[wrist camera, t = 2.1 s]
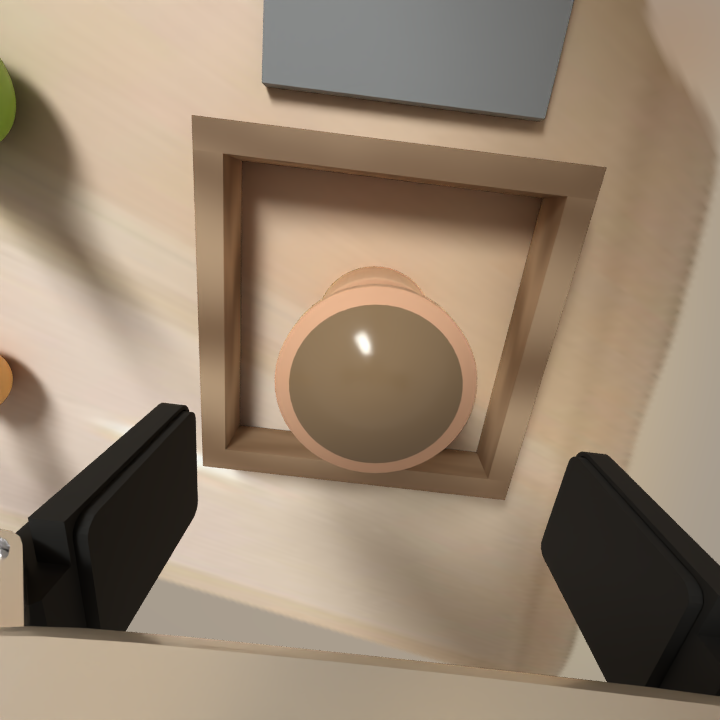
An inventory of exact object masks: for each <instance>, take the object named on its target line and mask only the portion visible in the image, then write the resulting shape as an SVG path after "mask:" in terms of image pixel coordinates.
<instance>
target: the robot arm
mask: <svg viewBox="0 0 720 720" xmlns="http://www.w3.org/2000/svg"><path fill="white" fill-rule="evenodd" d="M197 505H198V491H197V453H196V418H195V414H194V413H193V412H189V409H188V407H187V406H186V405H177V404H169V403H161V404H159V405H158V406H157V407H155V408H154V409H153V410H152V411H151V412H150V413H149V414H147V415H146V416H145V417H144V418H143V419H142V420H140V421H139V422H138V423H137V424H136V425H135V426H134V427H132V428H131V429H130V430H129V431H128V432H127V433H125V434H124V435H123V436H122V437H121V438H120V439H119V440H117V441H116V442H115V443H114V444H113V445H112V446H110V447H109V448H108V449H107V450H106V451H105V452H103V453H102V454H101V455H100V456H99V457H98V458H97V459H95V460H94V461H93V462H92V463H91V464H90V465H88V466H87V467H86V468H85V469H84V470H83V471H82V472H80V473H79V474H78V475H77V476H76V477H75V478H73V479H72V480H71V481H70V482H69V483H68V484H67V485H65V486H64V487H63V488H62V489H61V490H60V491H58V492H57V493H56V494H55V495H54V496H53V497H52V498H50V499H49V500H48V501H47V502H46V503H45V504H43V505H42V506H41V507H40V508H39V509H38V510H36V511H35V512H34V513H33V514H32V515H31V516H30V517H28V521H29V522H28V523H26V524H25V525H24V526H23V527H22V528H21V529H20V530H18V531H17V532H16V533H14V532H12V531H9V530H4V529H0V720H720V566H719V565H718V564H717V563H716V562H715V561H714V560H713V559H712V558H711V557H710V556H709V555H708V554H707V553H706V552H705V551H704V550H703V549H702V548H701V547H700V546H699V545H698V544H697V543H696V542H695V541H694V540H693V539H692V538H691V537H690V536H689V535H688V534H687V533H686V532H685V531H684V530H683V529H682V528H681V527H680V526H679V525H678V524H677V523H676V522H675V521H674V520H673V519H672V518H671V517H670V516H669V515H668V514H667V513H666V512H665V511H664V510H663V509H662V508H661V507H660V506H659V505H658V504H657V503H656V502H655V501H654V500H653V499H652V498H651V497H650V496H649V495H648V494H647V493H646V492H645V491H644V490H643V489H642V488H641V487H640V486H639V485H637V483H636V482H634V480H633V479H632V478H631V477H630V476H629V475H628V474H627V473H626V472H625V471H624V470H623V469H622V468H621V467H620V466H619V465H618V464H617V463H616V462H615V461H614V460H613V459H611V458H610V457H609V456H608V455H606V454H598V453H590V452H580V453H578V454H577V456H576V457H572V458H571V459H570V460H569V463H568V465H567V468H566V471H565V474H564V477H563V480H562V483H561V486H560V489H559V492H558V495H557V498H556V501H555V503H554V506H553V509H552V512H551V515H550V518H549V521H548V524H547V527H546V530H545V533H544V536H543V539H542V542H541V551H542V555H543V558H544V560H545V562H546V564H547V566H548V567H549V569H550V571H551V573H552V575H553V577H554V579H555V581H556V583H557V585H558V587H559V589H560V591H561V593H562V595H563V597H564V599H565V601H566V603H567V605H568V607H569V609H570V611H571V613H572V615H573V616H574V618H575V620H576V622H577V624H578V626H579V628H580V630H581V632H582V634H583V636H584V638H585V640H586V642H587V644H588V645H589V648H590V650H591V652H592V654H593V656H594V658H595V660H596V662H597V663H598V665H599V667H600V669H601V671H602V673H603V675H604V677H605V679H606V681H607V682H600V681H592V680H583V679H574V678H566V677H557V676H548V675H540V674H531V673H522V672H514V671H505V670H496V669H487V668H478V667H469V666H459V665H450V664H441V663H432V662H423V661H414V660H405V659H395V658H386V657H377V656H368V655H358V654H348V653H340V652H330V651H321V650H311V649H301V648H291V647H282V646H272V645H262V644H253V643H243V642H232V641H224V640H213V639H204V638H194V637H185V636H172V635H161V634H148V633H137V632H126V630H127V628H128V626H129V625H130V623H131V621H132V620H133V618H134V616H135V614H136V613H137V611H138V610H139V608H140V606H141V605H142V603H143V601H144V599H145V598H146V596H147V595H148V593H149V591H150V590H151V588H152V586H153V585H154V583H155V581H156V580H157V578H158V576H159V575H160V573H161V571H162V570H163V568H164V566H165V565H166V563H167V561H168V560H169V558H170V556H171V555H172V553H173V551H174V550H175V548H176V546H177V544H178V543H179V541H180V539H181V538H182V536H183V534H184V533H185V531H186V529H187V528H188V526H189V524H190V523H191V521H192V519H193V518H194V516H195V513H196V510H197Z"/></svg>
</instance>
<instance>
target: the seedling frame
mask: <svg viewBox="0 0 720 720" xmlns="http://www.w3.org/2000/svg"><path fill="white" fill-rule="evenodd" d="M192 140H193V171H194V202H195V232H196V263H197V294H198V325H199V355H200V386H201V417H202V448H203V466H208V467H217V468H226V469H234V470H243V471H252V472H261V473H270V474H279V475H288V476H297V477H306V478H314V479H323V480H332V481H341V482H350V483H359V484H368V485H377V486H386V487H394V488H403V489H412V490H421V491H430V492H439V493H448V494H457V495H466V496H474V497H483V498H492V499H501V500H505V498H506V495H507V491H508V488H509V485H510V481H511V478H512V475H513V472H514V468H515V465H516V462H517V459H518V455H519V452H520V449H521V446H522V442H523V439H524V436H525V433H526V429H527V426H528V423H529V419H530V416H531V413H532V410H533V406H534V403H535V400H536V397H537V393H538V390H539V387H540V384H541V380H542V377H543V374H544V370H545V367H546V364H547V361H548V357H549V354H550V351H551V348H552V344H553V341H554V338H555V335H556V331H557V328H558V325H559V322H560V318H561V315H562V312H563V308H564V305H565V302H566V299H567V295H568V292H569V289H570V286H571V282H572V279H573V276H574V273H575V269H576V266H577V263H578V259H579V256H580V253H581V250H582V246H583V243H584V240H585V237H586V233H587V230H588V227H589V224H590V220H591V217H592V214H593V210H594V207H595V204H596V201H597V197H598V194H599V191H600V188H601V184H602V181H603V178H604V175H605V171H606V167H598V166H590V165H582V164H575V163H567V162H559V161H551V160H543V159H535V158H527V157H519V156H511V155H503V154H495V153H488V152H480V151H472V150H464V149H456V148H448V147H440V146H432V145H424V144H416V143H408V142H401V141H393V140H385V139H377V138H369V137H361V136H353V135H345V134H337V133H329V132H321V131H314V130H306V129H298V128H290V127H282V126H274V125H266V124H258V123H250V122H242V121H234V120H227V119H219V118H211V117H203V116H195V115H192ZM242 161H250V162H258V163H266V164H274V165H282V166H290V167H298V168H306V169H314V170H322V171H330V172H338V173H346V174H354V175H362V176H370V177H378V178H386V179H394V180H402V181H410V182H418V183H426V184H434V185H442V186H450V187H458V188H466V189H474V190H482V191H490V192H498V193H506V194H514V195H522V196H530V197H538V198H543V199H542V203H541V206H540V210H539V214H538V218H537V222H536V226H535V229H534V233H533V237H532V241H531V245H530V249H529V252H528V256H527V260H526V264H525V268H524V272H523V276H522V279H521V283H520V287H519V291H518V295H517V299H516V302H515V306H514V310H513V314H512V318H511V322H510V325H509V329H508V333H507V337H506V341H505V345H504V348H503V352H502V356H501V360H500V364H499V368H498V372H497V375H496V379H495V383H494V387H493V391H492V395H491V398H490V402H489V406H488V410H487V414H486V418H485V421H484V425H483V429H482V433H481V437H480V441H479V445H478V448H477V452H469V451H460V450H452V449H444V450H442V451H441V452H440V453H438V454H437V455H435V456H434V457H432V458H430V459H429V460H427V461H425V462H423V463H421V464H418V465H416V466H413V467H411V468H407V469H403V470H400V471H394V472H388V473H364V472H358V471H352V470H348V469H345V468H341V467H338V466H336V465H333V464H331V463H329V462H327V461H325V460H323V459H321V458H320V457H318V456H317V455H315V454H314V453H312V452H311V451H310V450H308V449H307V448H306V447H305V446H304V445H303V444H302V443H301V442H300V441H299V440H298V439H297V438H296V437H295V436H294V434H293V433H292V432H291V431H285V430H277V429H268V428H259V427H250V426H242V425H240V356H241V218H242Z"/></svg>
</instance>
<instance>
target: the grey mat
mask: <svg viewBox="0 0 720 720" xmlns="http://www.w3.org/2000/svg"><path fill="white" fill-rule="evenodd" d="M573 2H574V0H264V13H263V58H262V83H263V84H264V85H265V86H266V87H273V88H281V89H289V90H297V91H304V92H312V93H320V94H328V95H336V96H344V97H351V98H359V99H367V100H375V101H383V102H390V103H398V104H406V105H414V106H422V107H430V108H437V109H445V110H453V111H461V112H469V113H476V114H484V115H492V116H500V117H508V118H515V119H523V120H531V121H541V120H543V119H545V116H546V112H547V108H548V104H549V100H550V96H551V92H552V88H553V84H554V80H555V76H556V71H557V67H558V63H559V59H560V55H561V51H562V47H563V43H564V39H565V35H566V31H567V27H568V23H569V19H570V14H571V10H572V6H573Z"/></svg>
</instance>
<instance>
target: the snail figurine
mask: <svg viewBox="0 0 720 720" xmlns="http://www.w3.org/2000/svg"><path fill="white" fill-rule="evenodd" d="M15 114H16V97H15V91H14V87H13V84H12V81H11V78H10V76H9V73H8V71H7V69H6V67H5V65H4V64H3V62H2V60H1V59H0V142H1V141H2V140H3V139H4V138H5V137H6V135H7V134H8V133H9V131H10V129H11V127H12V125H13V123H14V119H15Z"/></svg>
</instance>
